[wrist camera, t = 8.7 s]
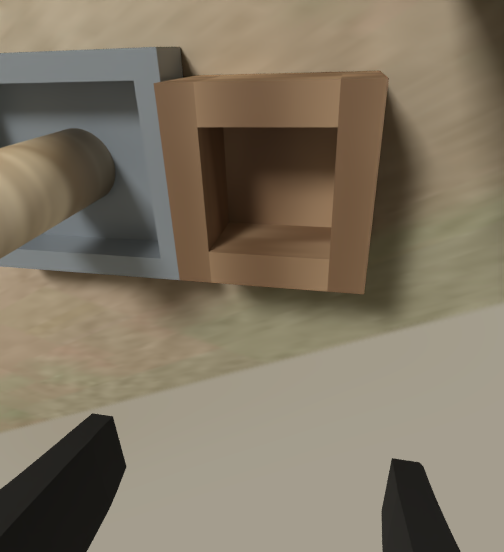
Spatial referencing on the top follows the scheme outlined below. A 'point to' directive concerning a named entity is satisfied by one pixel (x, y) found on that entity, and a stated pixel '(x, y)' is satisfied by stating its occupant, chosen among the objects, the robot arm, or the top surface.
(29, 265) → the tray
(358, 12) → the top surface
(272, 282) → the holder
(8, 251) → the dowel
